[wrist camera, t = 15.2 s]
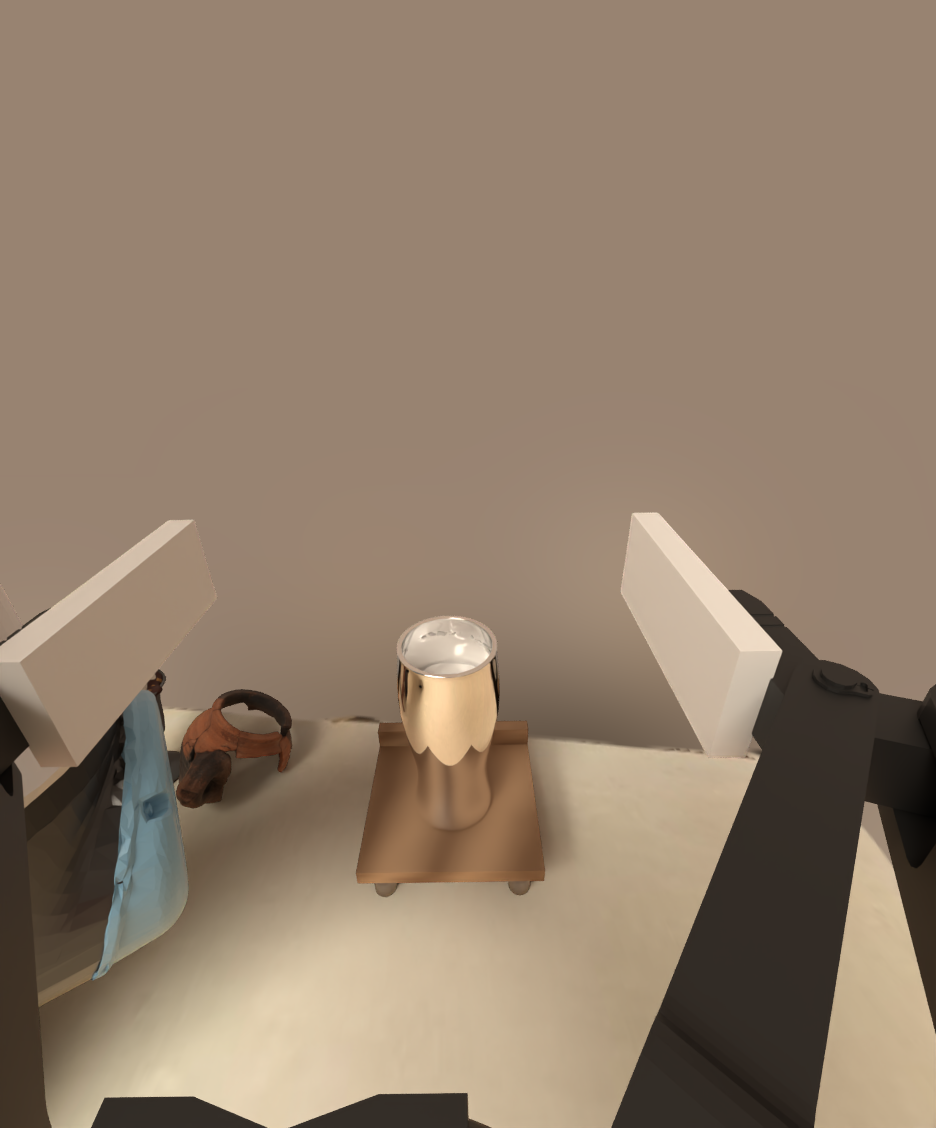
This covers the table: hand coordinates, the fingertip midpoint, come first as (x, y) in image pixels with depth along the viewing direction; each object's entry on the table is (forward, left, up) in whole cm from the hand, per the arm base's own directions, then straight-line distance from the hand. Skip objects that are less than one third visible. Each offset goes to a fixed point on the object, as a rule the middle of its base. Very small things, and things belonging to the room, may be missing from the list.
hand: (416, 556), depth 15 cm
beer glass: (0, +13, -28) cm, 31 cm away
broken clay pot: (-21, +18, -32) cm, 43 cm away
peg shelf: (0, +13, -32) cm, 34 cm away
